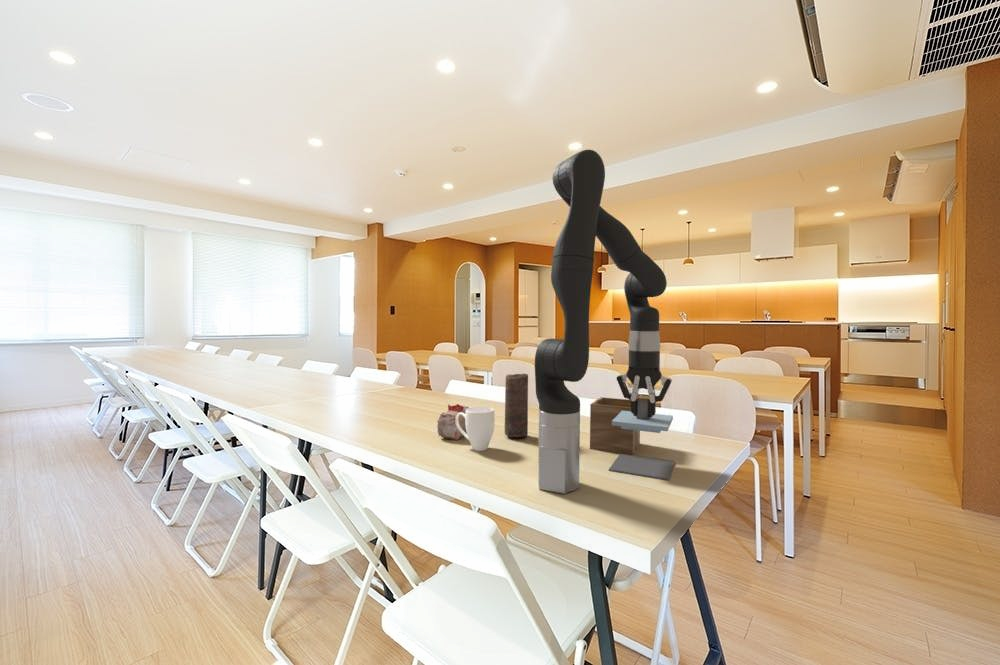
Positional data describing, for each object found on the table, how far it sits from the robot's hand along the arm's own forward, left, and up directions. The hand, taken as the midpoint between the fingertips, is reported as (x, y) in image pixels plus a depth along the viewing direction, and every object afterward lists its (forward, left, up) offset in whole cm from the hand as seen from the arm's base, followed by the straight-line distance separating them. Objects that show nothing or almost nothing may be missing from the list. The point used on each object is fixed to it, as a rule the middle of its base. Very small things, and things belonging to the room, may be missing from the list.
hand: (643, 415), depth 111 cm
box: (+14, +10, -13) cm, 22 cm away
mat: (0, 0, -13) cm, 13 cm away
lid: (0, 0, -3) cm, 3 cm away
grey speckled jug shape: (+3, +58, -13) cm, 60 cm away
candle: (+9, +40, -13) cm, 43 cm away
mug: (-7, +46, -13) cm, 48 cm away
